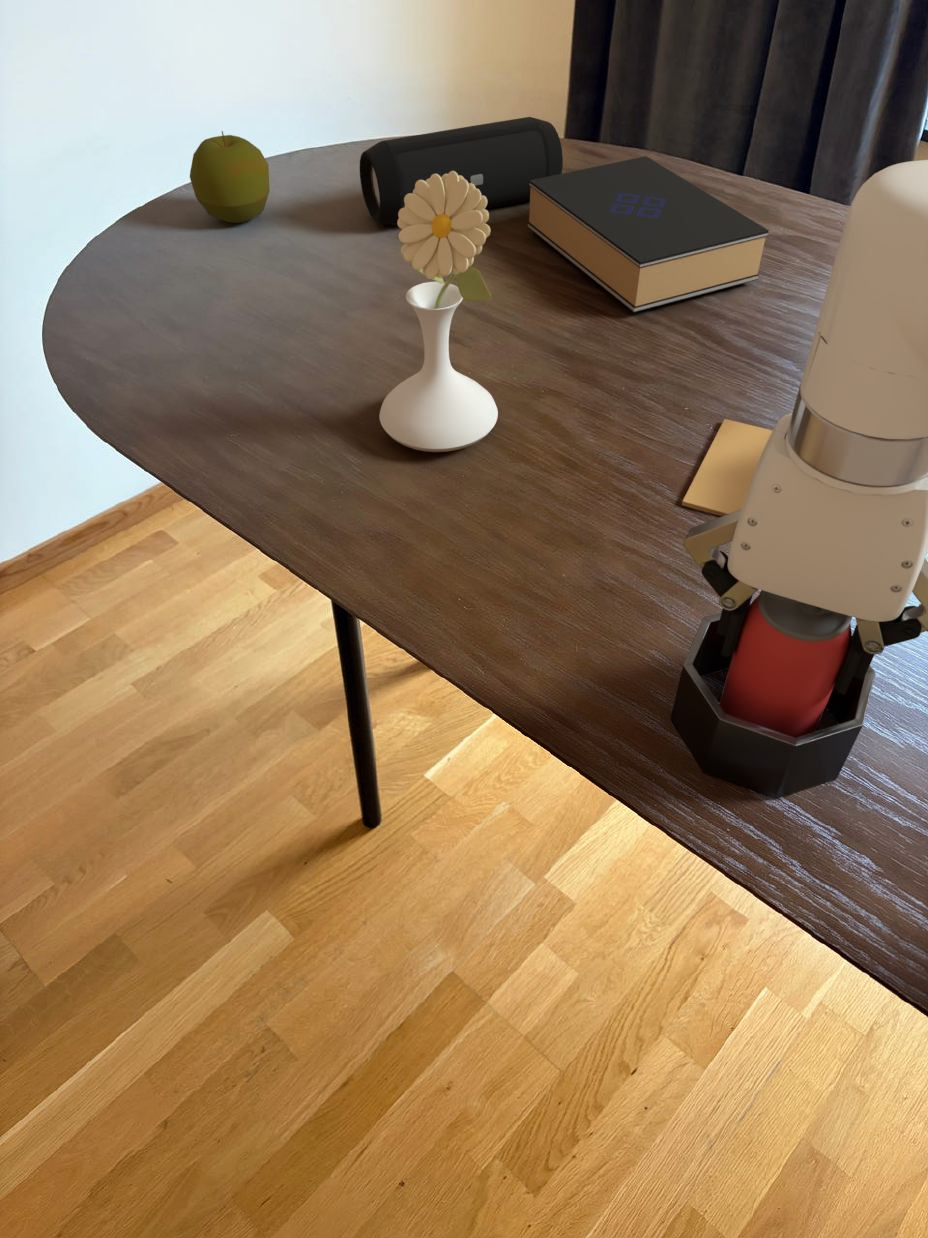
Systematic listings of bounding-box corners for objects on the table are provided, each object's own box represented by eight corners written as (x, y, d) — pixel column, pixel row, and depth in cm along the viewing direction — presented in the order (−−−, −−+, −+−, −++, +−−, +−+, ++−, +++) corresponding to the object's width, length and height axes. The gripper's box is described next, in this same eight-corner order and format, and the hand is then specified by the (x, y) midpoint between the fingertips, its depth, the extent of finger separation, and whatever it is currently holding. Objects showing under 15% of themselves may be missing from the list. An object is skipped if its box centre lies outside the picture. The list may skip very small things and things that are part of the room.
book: (639, 207, 126) (646, 155, 121) (757, 285, 110) (769, 230, 106) (526, 232, 121) (528, 179, 116) (633, 319, 105) (640, 262, 101)
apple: (188, 230, 123) (168, 141, 115) (217, 200, 129) (200, 114, 121) (260, 237, 121) (245, 147, 113) (286, 206, 127) (273, 119, 120)
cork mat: (849, 454, 88) (851, 449, 87) (819, 544, 79) (820, 539, 79) (723, 422, 91) (724, 418, 91) (681, 505, 83) (682, 501, 82)
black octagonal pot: (858, 693, 68) (884, 637, 63) (826, 819, 61) (853, 765, 56) (701, 642, 71) (716, 586, 67) (654, 755, 64) (667, 700, 60)
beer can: (822, 764, 63) (875, 644, 55) (725, 763, 64) (762, 644, 55) (799, 689, 68) (845, 567, 59) (708, 689, 68) (740, 568, 60)
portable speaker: (385, 241, 120) (379, 159, 112) (360, 211, 126) (353, 132, 119) (563, 206, 126) (568, 127, 119) (531, 180, 133) (534, 103, 126)
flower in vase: (358, 422, 92) (329, 155, 74) (450, 382, 97) (445, 123, 79) (436, 487, 85) (425, 210, 67) (532, 441, 89) (546, 170, 71)
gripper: (1056, 430, 48) (934, 663, 60) (719, 356, 53) (674, 584, 66) (1048, 516, 43) (918, 749, 56) (680, 426, 48) (639, 656, 61)
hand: (786, 658), depth 61 cm, fingers closed on beer can, 6 cm apart
